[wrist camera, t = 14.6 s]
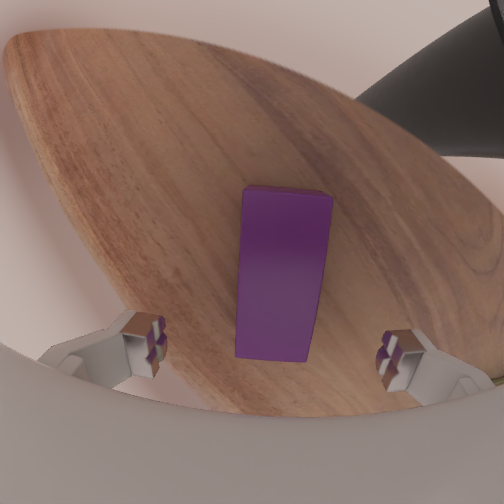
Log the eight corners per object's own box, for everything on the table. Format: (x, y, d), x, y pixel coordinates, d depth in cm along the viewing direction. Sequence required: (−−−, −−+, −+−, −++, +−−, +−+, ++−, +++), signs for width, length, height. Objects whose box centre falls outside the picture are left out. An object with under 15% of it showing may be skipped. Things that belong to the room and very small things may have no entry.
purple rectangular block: (248, 184, 15) (242, 189, 12) (322, 191, 15) (333, 197, 12) (240, 329, 17) (234, 358, 15) (302, 334, 17) (306, 363, 14)
